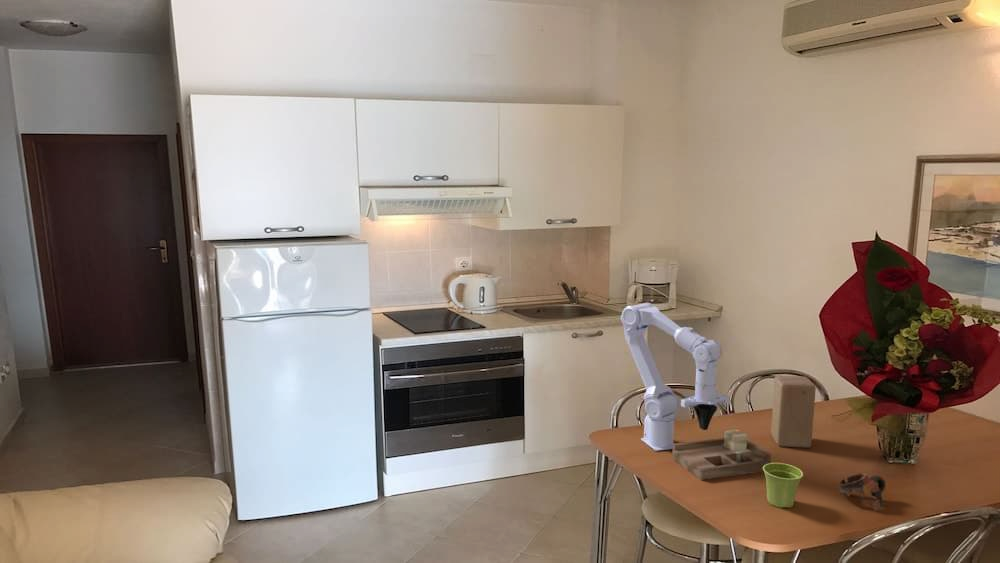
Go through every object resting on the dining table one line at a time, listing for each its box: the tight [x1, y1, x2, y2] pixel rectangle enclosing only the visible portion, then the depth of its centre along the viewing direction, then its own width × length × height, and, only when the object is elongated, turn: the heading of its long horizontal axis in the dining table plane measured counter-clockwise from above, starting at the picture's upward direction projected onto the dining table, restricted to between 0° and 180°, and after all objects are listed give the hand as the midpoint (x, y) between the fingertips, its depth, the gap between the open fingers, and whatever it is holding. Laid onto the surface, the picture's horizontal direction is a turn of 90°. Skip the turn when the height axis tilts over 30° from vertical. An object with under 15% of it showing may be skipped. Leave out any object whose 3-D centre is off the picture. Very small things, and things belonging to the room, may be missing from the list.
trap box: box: [671, 437, 772, 481], centre depth 197 cm, size 15×22×5 cm
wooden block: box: [770, 375, 817, 449], centre depth 213 cm, size 10×10×20 cm
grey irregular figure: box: [838, 472, 886, 512], centre depth 176 cm, size 12×10×8 cm
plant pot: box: [763, 462, 804, 509], centre depth 174 cm, size 9×9×9 cm
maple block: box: [723, 429, 748, 451], centre depth 202 cm, size 4×4×4 cm
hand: (703, 428), depth 200 cm, fingers closed
